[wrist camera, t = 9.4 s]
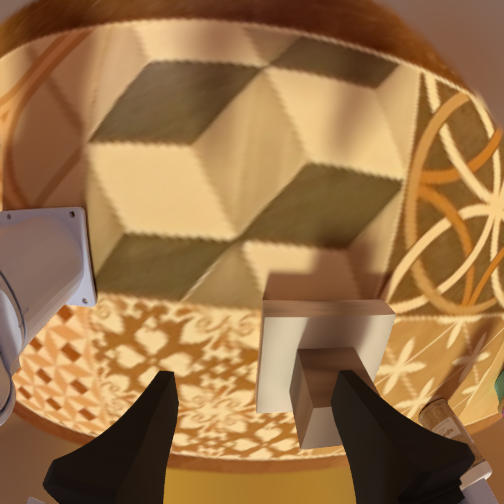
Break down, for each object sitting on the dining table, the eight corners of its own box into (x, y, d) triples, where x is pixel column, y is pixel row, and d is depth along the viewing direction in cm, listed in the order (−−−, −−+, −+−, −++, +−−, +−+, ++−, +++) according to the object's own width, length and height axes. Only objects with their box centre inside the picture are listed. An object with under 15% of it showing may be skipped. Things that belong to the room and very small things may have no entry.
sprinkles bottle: (425, 401, 28) (472, 482, 15) (451, 394, 28) (500, 466, 16) (412, 425, 30) (451, 502, 17) (438, 417, 30) (479, 487, 17)
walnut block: (289, 391, 22) (300, 449, 17) (297, 348, 21) (313, 408, 15) (340, 388, 23) (361, 442, 17) (353, 346, 21) (382, 400, 16)
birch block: (254, 389, 26) (256, 413, 23) (261, 296, 23) (264, 317, 20) (355, 384, 27) (364, 405, 24) (380, 296, 23) (396, 314, 21)
